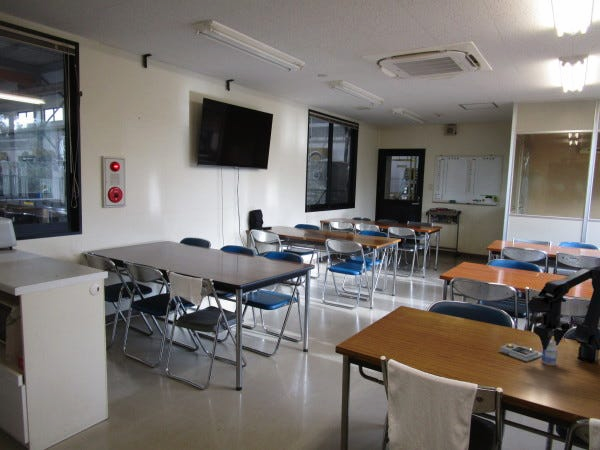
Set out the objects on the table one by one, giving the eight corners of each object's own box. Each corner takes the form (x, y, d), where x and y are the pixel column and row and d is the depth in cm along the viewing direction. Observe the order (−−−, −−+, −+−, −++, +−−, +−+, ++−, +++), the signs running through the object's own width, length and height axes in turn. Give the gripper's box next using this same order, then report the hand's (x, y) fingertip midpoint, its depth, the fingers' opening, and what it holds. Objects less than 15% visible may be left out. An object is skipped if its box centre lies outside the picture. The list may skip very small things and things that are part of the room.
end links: (542, 355, 188) (543, 348, 188) (526, 361, 181) (527, 354, 181) (516, 346, 199) (516, 339, 198) (499, 351, 192) (500, 345, 191)
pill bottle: (543, 359, 184) (544, 337, 183) (557, 362, 181) (559, 340, 180) (540, 363, 180) (542, 341, 179) (555, 366, 177) (556, 344, 176)
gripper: (545, 304, 190) (543, 337, 192) (522, 310, 180) (519, 345, 182) (571, 310, 181) (569, 345, 182) (548, 317, 171) (546, 354, 172)
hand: (550, 347), depth 180 cm, fingers open, 9 cm apart
